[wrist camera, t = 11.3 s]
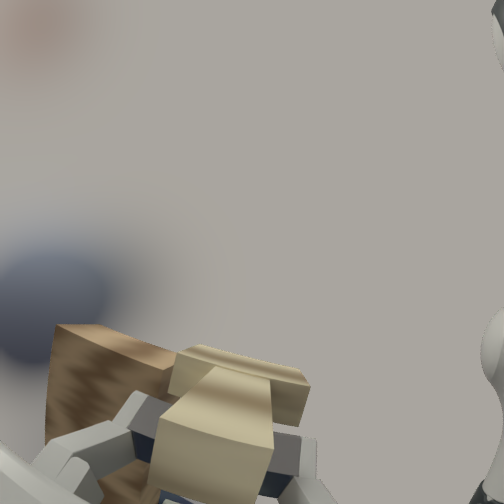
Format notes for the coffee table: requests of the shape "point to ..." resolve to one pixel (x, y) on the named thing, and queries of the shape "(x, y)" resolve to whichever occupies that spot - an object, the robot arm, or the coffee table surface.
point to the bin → (169, 502)
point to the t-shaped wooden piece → (223, 424)
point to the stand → (105, 393)
